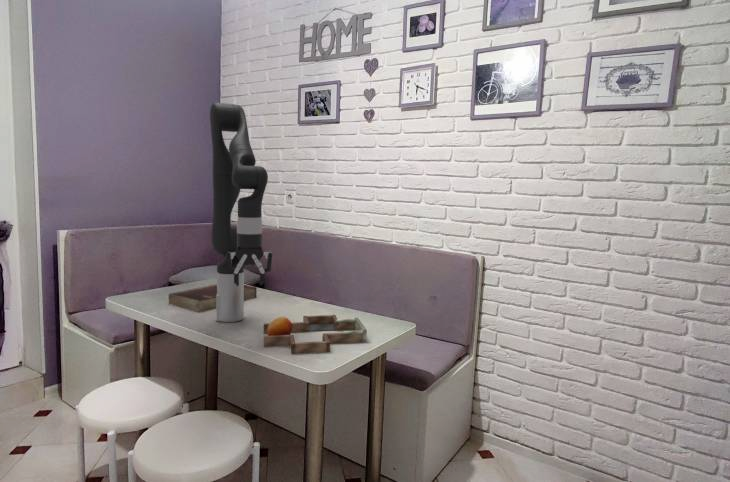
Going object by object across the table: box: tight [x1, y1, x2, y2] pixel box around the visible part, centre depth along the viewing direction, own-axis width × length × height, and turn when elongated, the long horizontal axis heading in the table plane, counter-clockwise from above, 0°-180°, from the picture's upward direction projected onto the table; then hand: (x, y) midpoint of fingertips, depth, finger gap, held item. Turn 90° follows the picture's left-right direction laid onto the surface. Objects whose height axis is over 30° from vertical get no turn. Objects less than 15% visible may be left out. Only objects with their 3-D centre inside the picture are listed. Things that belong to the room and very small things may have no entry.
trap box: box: [262, 314, 368, 355], centre depth 146 cm, size 32×27×4 cm
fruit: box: [266, 316, 293, 336], centre depth 144 cm, size 8×8×8 cm
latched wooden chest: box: [168, 283, 257, 313], centre depth 185 cm, size 29×19×5 cm, turn 147°
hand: (249, 284), depth 140 cm, fingers open, 6 cm apart
